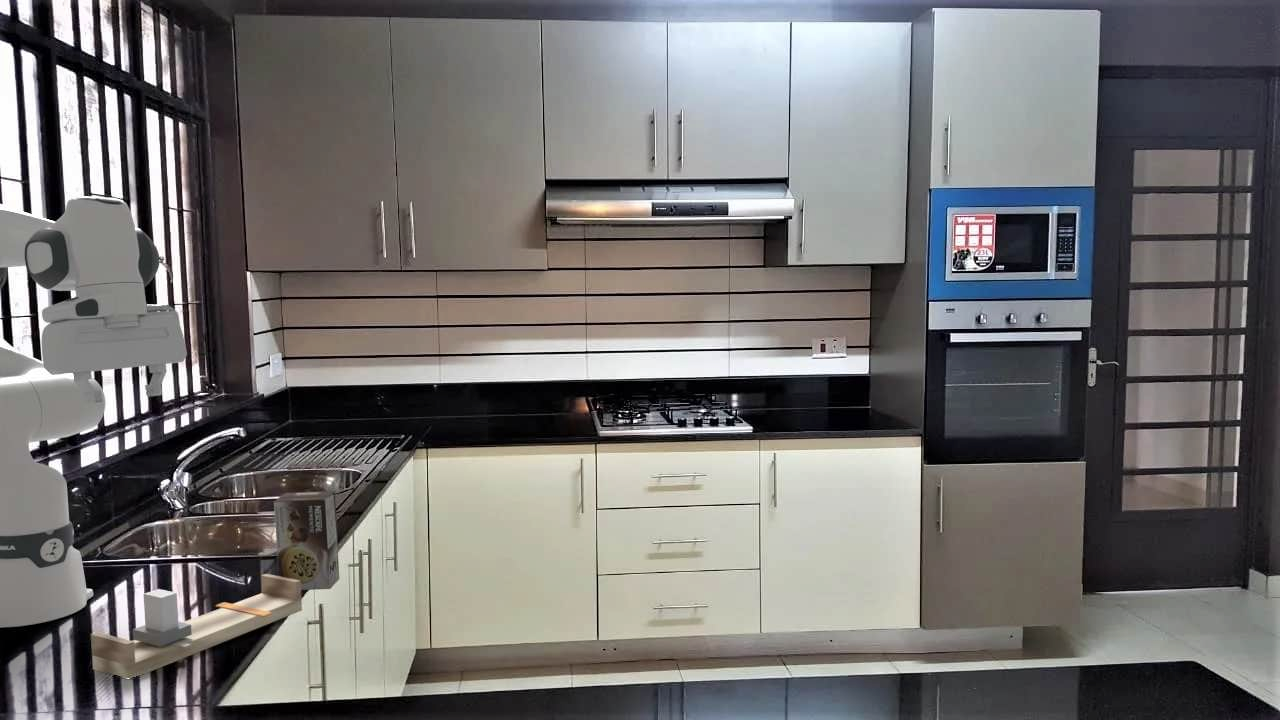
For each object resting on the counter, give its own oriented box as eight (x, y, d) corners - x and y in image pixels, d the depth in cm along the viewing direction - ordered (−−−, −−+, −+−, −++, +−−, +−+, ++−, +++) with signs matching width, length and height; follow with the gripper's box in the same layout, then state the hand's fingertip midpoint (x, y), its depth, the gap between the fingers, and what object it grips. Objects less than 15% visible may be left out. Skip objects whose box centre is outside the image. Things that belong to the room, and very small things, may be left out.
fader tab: (133, 639, 138) (130, 595, 137) (164, 628, 142) (162, 585, 142) (160, 646, 135) (157, 601, 134) (191, 634, 139) (189, 591, 139)
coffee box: (340, 578, 173) (336, 490, 171) (330, 590, 166) (326, 498, 165) (289, 579, 172) (285, 491, 171) (277, 591, 166) (272, 499, 164)
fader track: (86, 667, 134) (84, 632, 134) (261, 601, 161) (259, 572, 160) (136, 681, 129) (134, 646, 129) (308, 611, 156) (307, 581, 155)
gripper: (163, 305, 151) (174, 392, 151) (29, 311, 133) (43, 410, 133) (189, 301, 148) (201, 390, 148) (56, 306, 130) (69, 407, 130)
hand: (125, 399), depth 141 cm, fingers open, 8 cm apart
